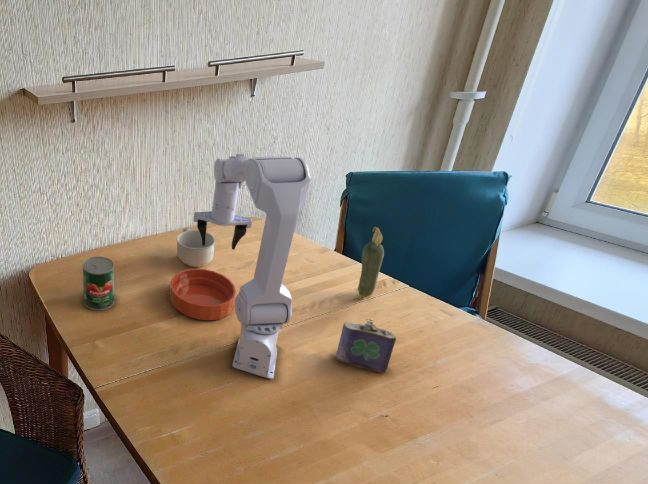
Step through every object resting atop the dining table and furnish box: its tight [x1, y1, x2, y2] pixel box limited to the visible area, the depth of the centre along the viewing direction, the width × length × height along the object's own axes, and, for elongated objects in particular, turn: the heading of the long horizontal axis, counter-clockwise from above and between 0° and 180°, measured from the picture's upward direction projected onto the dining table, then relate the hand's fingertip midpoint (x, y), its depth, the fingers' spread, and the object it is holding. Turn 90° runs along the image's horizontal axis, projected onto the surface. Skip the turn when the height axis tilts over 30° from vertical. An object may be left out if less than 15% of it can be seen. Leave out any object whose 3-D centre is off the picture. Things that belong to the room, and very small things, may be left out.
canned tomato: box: [81, 256, 115, 311], centre depth 109 cm, size 8×8×11 cm
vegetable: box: [357, 226, 385, 298], centre depth 105 cm, size 4×4×20 cm
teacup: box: [176, 227, 216, 268], centre depth 127 cm, size 14×11×8 cm
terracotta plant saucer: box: [169, 268, 237, 321], centre depth 109 cm, size 16×16×4 cm
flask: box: [335, 318, 397, 374], centre depth 87 cm, size 9×3×11 cm, turn 65°
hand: (218, 245), depth 115 cm, fingers open, 7 cm apart
